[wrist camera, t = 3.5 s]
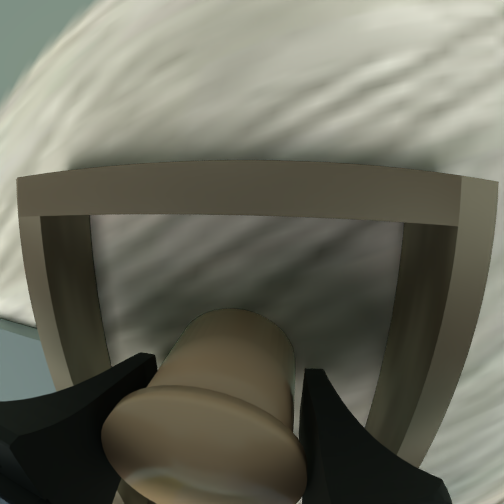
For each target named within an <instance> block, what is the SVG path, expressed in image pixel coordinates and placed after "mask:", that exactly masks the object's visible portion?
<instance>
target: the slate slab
mask: <svg viewBox="0 0 504 504" xmlns="http://www.w3.org/2000/svg"><path fill="white" fill-rule="evenodd" d="M54 392H57V391H56V389H55V386H54V383H53V380H52V377H51V374H50V371H49V368H48V365H47V362H46V358H45V355H44V352H43V348H42V345H41V341H40V337H39V334H38V330H37V329H36V328H32V327H29V326H25V325H21V324H18V323H14V322H11V321H7V320H4V319H0V401H13V400H21V399H28V398H33V397H38V396H42V395H46V394H50V393H54Z"/></svg>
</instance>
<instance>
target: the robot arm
mask: <svg viewBox="0 0 504 504" xmlns="http://www.w3.org/2000/svg"><path fill="white" fill-rule="evenodd" d="M157 371H158V370H157V364H156V357H155V355H154V354H148V353H138V354H136V355H134V356H132V357H130V358H128V359H126V360H125V361H123V362H121V363H119V364H117V365H115V366H113V367H112V368H110V369H108V370H106V371H104V372H102V373H100V374H98V375H96V376H94V377H92V378H90V379H88V380H85V381H83V382H81V383H79V384H76V385H74V386H71V387H69V388H66V389H63V390H60V391H57V392H54V393H50V394H46V395H42V396H38V397H33V398H28V399H21V400H13V401H0V504H112V503H113V500H114V497H115V494H116V492H117V489H118V486H119V483H120V481H121V477H120V475H119V474H118V473H117V472H116V471H115V470H114V468H113V467H112V465H111V464H110V462H109V461H108V459H107V457H106V455H105V452H104V449H103V447H102V441H101V431H102V427H103V424H104V422H105V420H106V419H107V417H108V416H109V414H110V413H111V412H112V410H113V409H114V408H115V406H116V405H117V404H118V403H119V402H120V401H121V400H122V399H123V398H124V397H125V396H127V395H129V394H130V393H132V392H135V391H137V390H139V389H143V388H146V387H147V386H148V384H149V383H150V381H151V380H152V378H153V377H154V375H155V374H156V372H157ZM299 441H300V443H301V445H302V446H303V449H304V451H305V454H306V459H307V484H306V489H305V492H304V494H303V496H302V504H452V501H451V498H450V495H449V493H448V490H447V488H446V486H445V485H444V483H443V480H442V479H440V478H438V477H436V476H433V475H431V474H429V473H427V472H425V471H423V470H421V469H418V468H417V467H415V466H413V465H411V464H410V463H408V462H406V461H405V460H403V459H401V458H400V457H398V456H397V455H396V454H394V453H393V452H391V451H390V450H389V449H387V448H386V447H385V446H384V445H382V444H381V443H380V442H379V441H377V440H376V439H375V438H374V437H373V436H372V435H371V434H370V433H369V432H368V431H367V430H366V429H365V428H364V427H363V426H362V425H361V424H360V423H359V422H358V420H357V419H356V418H355V417H354V416H353V414H352V413H351V412H350V411H349V409H348V408H347V407H346V405H345V404H344V403H343V401H342V400H341V398H340V397H339V395H338V394H337V392H336V391H335V389H334V387H333V386H332V384H331V382H330V381H329V379H328V377H327V375H326V373H325V371H324V370H323V369H306V368H305V373H304V382H303V390H302V398H301V406H300V421H299Z"/></svg>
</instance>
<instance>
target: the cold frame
mask: <svg viewBox="0 0 504 504" xmlns="http://www.w3.org/2000/svg"><path fill="white" fill-rule="evenodd" d="M16 184H17V205H18V218H19V229H20V238H21V246H22V254H23V261H24V267H25V273H26V279H27V285H28V290H29V295H30V300H31V305H32V309H33V313H34V318H35V322H36V326H37V330H38V334H39V337H40V341H41V345H42V348H43V352H44V355H45V358H46V362H47V365H48V368H49V371H50V374H51V377H52V380H53V383H54V386H55V389H56V391H60V390H63V389H66V388H69V387H71V386H74V385H76V384H79V383H81V382H83V381H85V380H88V379H90V378H92V377H94V376H96V375H98V374H100V373H102V372H104V371H106V370H108V369H110V368H111V364H110V359H109V355H108V350H107V345H106V341H105V336H104V330H103V325H102V319H101V314H100V308H99V301H98V295H97V288H96V281H95V273H94V265H93V256H92V246H91V234H90V221H89V215H106V214H204V215H255V216H288V217H314V218H337V219H356V220H374V221H391V222H404V232H403V242H402V252H401V260H400V268H399V276H398V283H397V290H396V296H395V302H394V308H393V314H392V319H391V325H390V330H389V335H388V340H387V345H386V350H385V354H384V359H383V363H382V367H381V371H380V376H379V380H378V384H377V387H376V391H375V395H374V399H373V402H372V406H371V409H370V413H369V416H368V420H367V423H366V426H365V429H366V430H367V431H368V432H369V433H370V434H371V435H372V436H373V437H374V438H375V439H376V440H377V441H379V442H380V443H381V444H382V445H384V446H385V447H386V448H387V449H389V450H390V451H391V452H393V453H394V454H396V455H397V456H398V457H400V458H401V459H403V460H405V461H406V462H408V463H410V464H411V465H413V466H415V467H417V468H419V466H420V465H421V463H422V461H423V459H424V457H425V455H426V453H427V451H428V449H429V447H430V445H431V443H432V441H433V439H434V437H435V435H436V433H437V431H438V429H439V427H440V425H441V422H442V420H443V418H444V416H445V413H446V411H447V409H448V406H449V404H450V401H451V399H452V396H453V394H454V391H455V389H456V386H457V383H458V381H459V378H460V375H461V372H462V370H463V367H464V364H465V361H466V358H467V355H468V352H469V348H470V345H471V342H472V338H473V335H474V331H475V328H476V324H477V320H478V317H479V313H480V309H481V304H482V300H483V296H484V291H485V286H486V281H487V276H488V271H489V265H490V259H491V253H492V246H493V239H494V231H495V222H496V212H497V199H498V182H496V181H491V180H485V179H479V178H473V177H466V176H460V175H453V174H446V173H439V172H431V171H423V170H414V169H405V168H396V167H385V166H374V165H362V164H348V163H331V162H311V161H280V160H209V161H179V162H159V163H142V164H128V165H116V166H105V167H95V168H85V169H76V170H68V171H60V172H52V173H45V174H38V175H31V176H25V177H18V178H17V179H16ZM112 504H156V503H155V502H153V501H151V500H149V499H148V498H146V497H144V496H143V495H142V494H140V493H139V492H137V491H136V490H135V489H134V488H132V487H131V486H130V485H129V484H128V483H126V482H125V481H124V480H123V479H122V478H121V481H120V483H119V486H118V489H117V492H116V494H115V497H114V500H113V503H112Z"/></svg>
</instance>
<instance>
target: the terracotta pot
mask: <svg viewBox="0 0 504 504" xmlns="http://www.w3.org/2000/svg"><path fill="white" fill-rule="evenodd" d="M294 391H295V356H294V351H293V348H292V345H291V343H290V341H289V339H288V338H287V336H286V335H285V334H284V332H283V331H282V330H281V329H280V328H279V327H278V326H277V325H275V324H274V323H273V322H271V321H270V320H268V319H267V318H265V317H263V316H261V315H259V314H256V313H254V312H251V311H247V310H243V309H235V308H226V309H218V310H214V311H210V312H207V313H205V314H203V315H201V316H199V317H197V318H196V319H195V320H194V321H192V322H191V323H190V324H189V325H188V326H187V328H186V329H185V331H184V332H183V334H182V335H181V337H180V338H179V340H178V341H177V343H176V344H175V346H174V347H173V349H172V350H171V352H170V353H169V355H168V356H167V357H166V359H165V360H164V362H163V363H162V365H161V366H160V368H159V369H158V371H157V372H156V374H155V375H154V377H153V378H152V380H151V381H150V383H149V384H148V386H147V387H146V388H143V389H139V390H137V391H135V392H132V393H130V394H129V395H127V396H125V397H124V398H123V399H122V400H121V401H120V402H119V403H118V404H117V405H116V406H115V408H114V409H113V410H112V412H111V413H110V414H109V416H108V417H107V419H106V420H105V422H104V424H103V427H102V431H101V441H102V447H103V449H104V452H105V455H106V457H107V459H108V461H109V462H110V464H111V465H112V467H113V468H114V470H115V471H116V472H117V473H118V474H119V475H120V477H121V478H122V479H123V480H124V481H125V482H126V483H128V484H129V485H130V486H131V487H132V488H134V489H135V490H136V491H137V492H139V493H140V494H142V495H143V496H144V497H146V498H148V499H149V500H151V501H153V502H155V503H156V504H296V503H297V502H298V501H299V500H300V499H301V497H302V496H303V494H304V492H305V489H306V484H307V459H306V454H305V451H304V449H303V446H302V445H301V443H300V441H299V440H298V438H297V437H296V436H295V435H294V433H293V425H294Z"/></svg>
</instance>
